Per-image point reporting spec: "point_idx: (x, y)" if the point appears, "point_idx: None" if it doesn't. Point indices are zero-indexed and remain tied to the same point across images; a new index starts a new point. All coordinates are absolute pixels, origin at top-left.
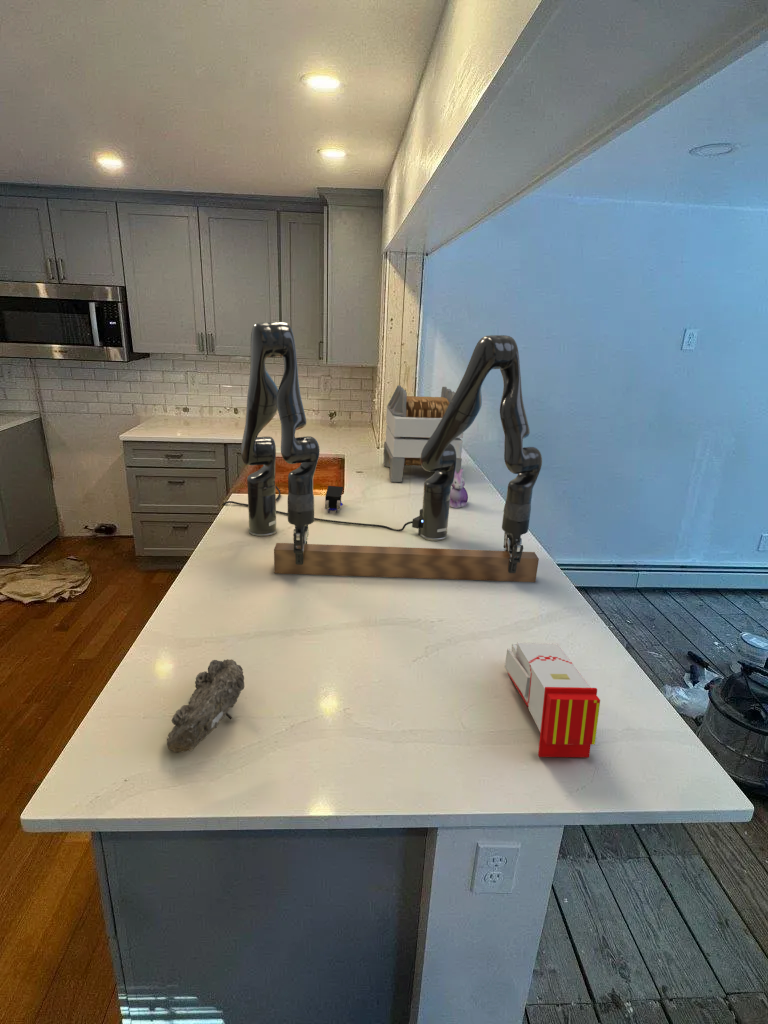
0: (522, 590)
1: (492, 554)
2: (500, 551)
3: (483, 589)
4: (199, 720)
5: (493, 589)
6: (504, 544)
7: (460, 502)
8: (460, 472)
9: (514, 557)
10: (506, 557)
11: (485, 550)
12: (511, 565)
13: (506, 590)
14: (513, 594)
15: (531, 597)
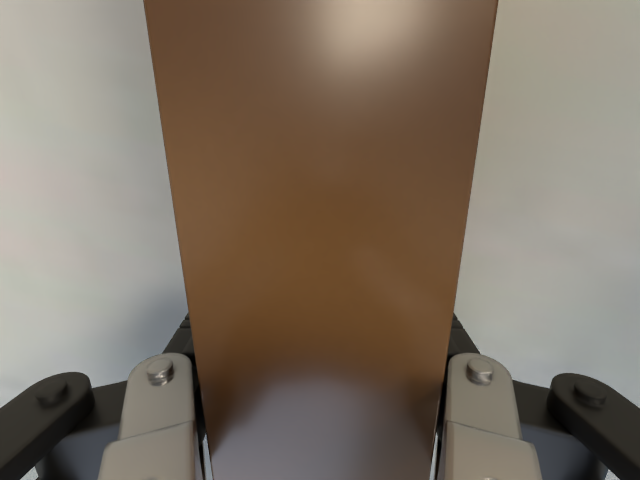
0: (136, 319)
1: (287, 141)
2: (423, 303)
3: (69, 18)
4: None
5: (95, 113)
6: (605, 423)
7: None
8: None
9: (220, 439)
10: (200, 344)
11: (483, 25)
12: (167, 345)
13: (106, 214)
14: (57, 250)
15: (51, 349)
